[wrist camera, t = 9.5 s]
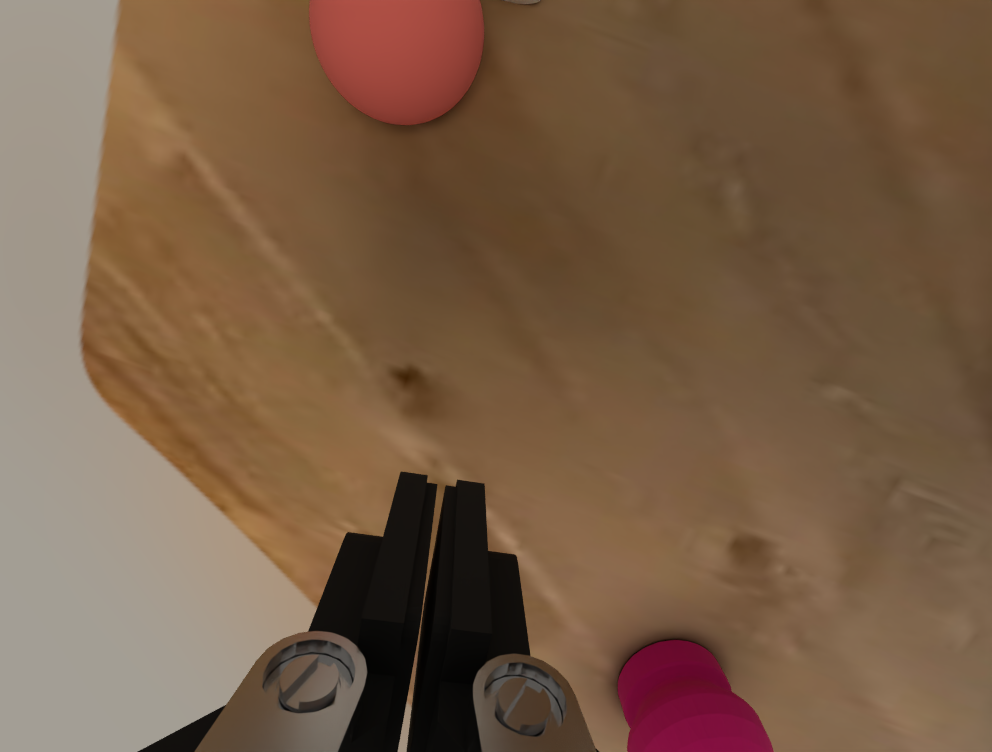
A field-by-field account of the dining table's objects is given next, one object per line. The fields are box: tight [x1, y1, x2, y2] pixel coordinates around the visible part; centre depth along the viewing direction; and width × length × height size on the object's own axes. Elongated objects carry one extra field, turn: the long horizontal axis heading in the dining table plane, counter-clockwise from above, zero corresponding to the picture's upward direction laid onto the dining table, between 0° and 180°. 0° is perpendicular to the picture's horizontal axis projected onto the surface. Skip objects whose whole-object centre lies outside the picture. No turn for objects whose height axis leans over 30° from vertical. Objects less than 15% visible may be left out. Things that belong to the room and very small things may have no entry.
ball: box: [309, 0, 484, 125], centre depth 19 cm, size 6×6×6 cm
